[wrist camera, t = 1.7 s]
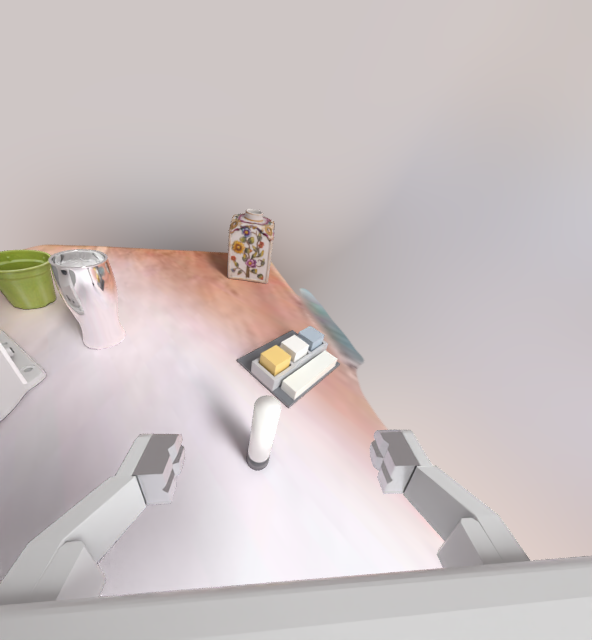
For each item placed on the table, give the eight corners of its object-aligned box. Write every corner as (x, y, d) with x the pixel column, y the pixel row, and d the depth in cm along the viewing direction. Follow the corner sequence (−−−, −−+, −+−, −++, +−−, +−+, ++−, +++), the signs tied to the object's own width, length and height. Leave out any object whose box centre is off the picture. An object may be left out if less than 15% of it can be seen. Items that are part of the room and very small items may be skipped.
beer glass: (119, 321, 48) (98, 246, 39) (135, 340, 45) (117, 262, 36) (74, 335, 43) (39, 252, 34) (89, 357, 40) (54, 272, 31)
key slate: (295, 344, 49) (298, 332, 47) (307, 337, 51) (310, 325, 49) (309, 354, 47) (313, 342, 45) (320, 346, 49) (324, 335, 48)
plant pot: (0, 294, 48) (-24, 251, 43) (64, 286, 54) (49, 247, 49) (-2, 320, 43) (-30, 274, 38) (69, 307, 48) (53, 266, 43)
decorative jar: (233, 262, 79) (235, 202, 69) (269, 268, 81) (276, 210, 71) (226, 279, 69) (228, 212, 59) (267, 285, 71) (276, 220, 61)
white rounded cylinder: (242, 458, 31) (248, 405, 25) (259, 443, 33) (268, 391, 27) (256, 475, 30) (267, 424, 24) (273, 459, 32) (286, 407, 26)
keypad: (237, 361, 45) (238, 349, 43) (292, 331, 55) (294, 320, 53) (288, 408, 39) (291, 396, 37) (339, 365, 49) (343, 354, 47)
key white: (278, 354, 45) (281, 342, 44) (291, 346, 48) (294, 334, 46) (293, 365, 44) (296, 353, 42) (305, 356, 46) (309, 344, 44)
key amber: (259, 366, 42) (260, 353, 40) (274, 357, 45) (276, 344, 43) (273, 378, 40) (276, 366, 39) (288, 368, 43) (291, 356, 41)
